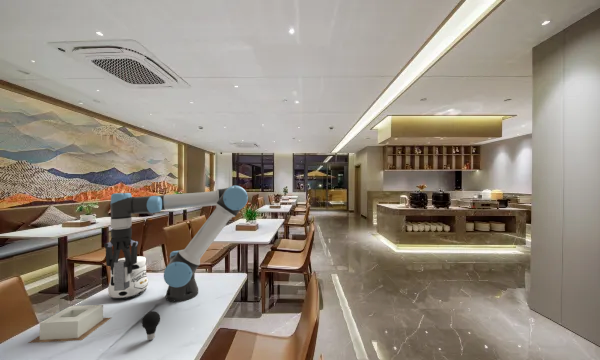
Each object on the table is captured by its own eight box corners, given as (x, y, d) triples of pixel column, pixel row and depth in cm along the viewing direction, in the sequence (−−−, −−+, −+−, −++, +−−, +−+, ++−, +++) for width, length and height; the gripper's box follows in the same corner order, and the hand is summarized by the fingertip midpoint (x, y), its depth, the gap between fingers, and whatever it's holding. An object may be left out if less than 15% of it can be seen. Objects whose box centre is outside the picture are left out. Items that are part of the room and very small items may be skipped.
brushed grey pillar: (129, 286, 113) (129, 259, 113) (123, 290, 109) (123, 262, 109) (120, 287, 113) (119, 260, 113) (114, 290, 109) (113, 262, 109)
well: (103, 319, 105) (103, 304, 105) (77, 338, 92) (77, 321, 92) (69, 321, 104) (70, 306, 104) (39, 339, 91) (39, 322, 91)
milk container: (148, 296, 130) (148, 261, 131) (106, 305, 121) (106, 267, 121) (147, 285, 145) (147, 254, 145) (109, 292, 135) (110, 258, 136)
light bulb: (146, 335, 95) (146, 308, 95) (163, 334, 95) (163, 307, 95) (138, 345, 89) (138, 316, 89) (155, 344, 89) (155, 315, 90)
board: (111, 320, 106) (111, 317, 106) (81, 343, 90) (81, 340, 90) (66, 322, 105) (66, 319, 105) (27, 346, 89) (27, 342, 89)
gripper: (146, 225, 116) (146, 277, 115) (107, 227, 115) (107, 279, 114) (136, 228, 109) (137, 283, 108) (94, 230, 107) (95, 285, 107)
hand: (122, 281), depth 111 cm, fingers closed on brushed grey pillar, 4 cm apart
